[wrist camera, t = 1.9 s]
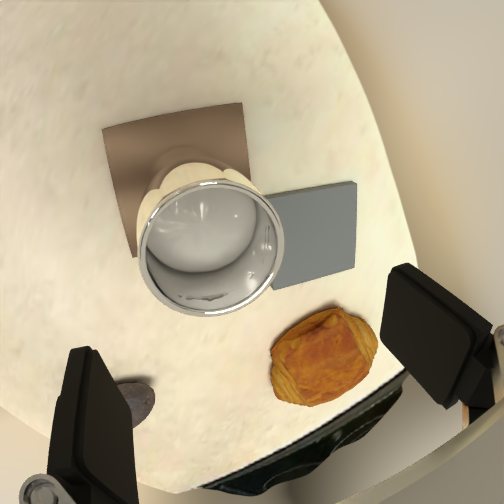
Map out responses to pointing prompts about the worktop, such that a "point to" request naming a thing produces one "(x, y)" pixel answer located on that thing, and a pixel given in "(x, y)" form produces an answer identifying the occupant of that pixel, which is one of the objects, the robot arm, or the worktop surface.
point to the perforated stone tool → (138, 400)
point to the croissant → (322, 358)
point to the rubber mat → (316, 232)
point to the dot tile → (163, 139)
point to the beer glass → (205, 235)
